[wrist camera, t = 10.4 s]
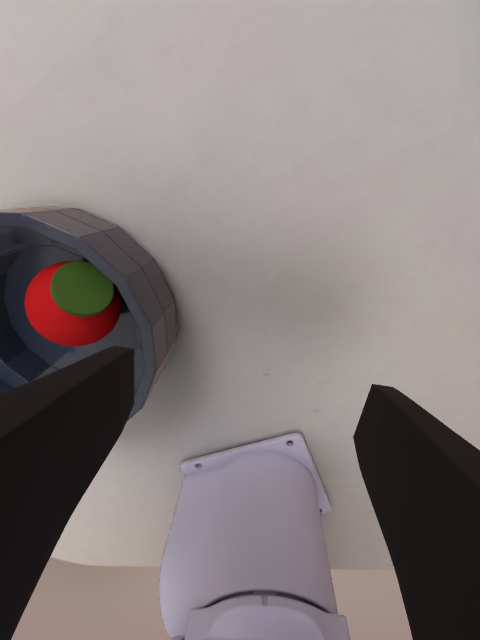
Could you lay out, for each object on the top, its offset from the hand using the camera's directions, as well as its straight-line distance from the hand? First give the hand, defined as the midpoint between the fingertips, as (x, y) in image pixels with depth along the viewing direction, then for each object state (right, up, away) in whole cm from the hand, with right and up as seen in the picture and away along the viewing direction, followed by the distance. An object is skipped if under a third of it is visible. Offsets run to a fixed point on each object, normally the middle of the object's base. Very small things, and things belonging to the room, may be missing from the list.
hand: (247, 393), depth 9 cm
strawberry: (-10, +2, +8) cm, 13 cm away
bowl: (-10, +3, +10) cm, 14 cm away
